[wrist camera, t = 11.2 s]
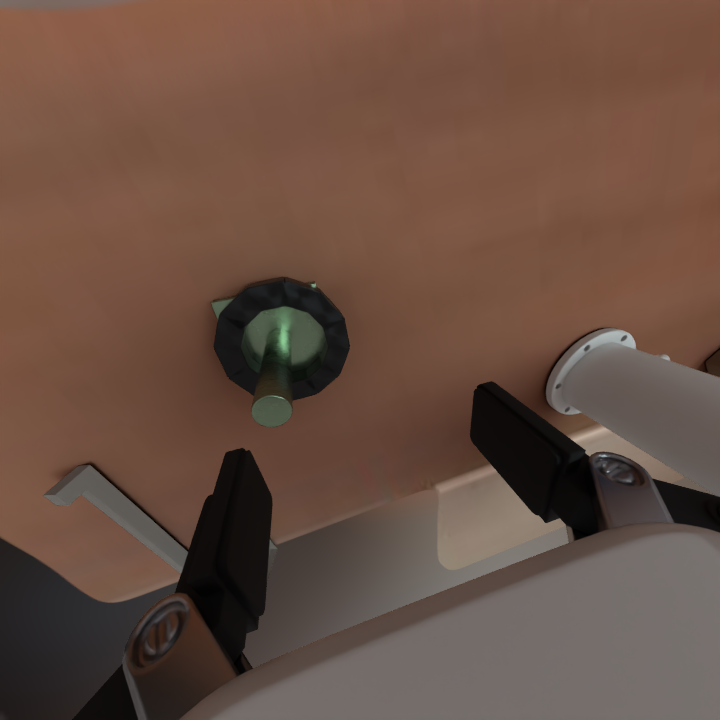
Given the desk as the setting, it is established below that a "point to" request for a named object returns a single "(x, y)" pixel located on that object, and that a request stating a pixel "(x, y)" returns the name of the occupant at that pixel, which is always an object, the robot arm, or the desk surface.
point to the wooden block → (714, 364)
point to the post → (278, 356)
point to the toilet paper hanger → (124, 513)
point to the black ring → (270, 297)
